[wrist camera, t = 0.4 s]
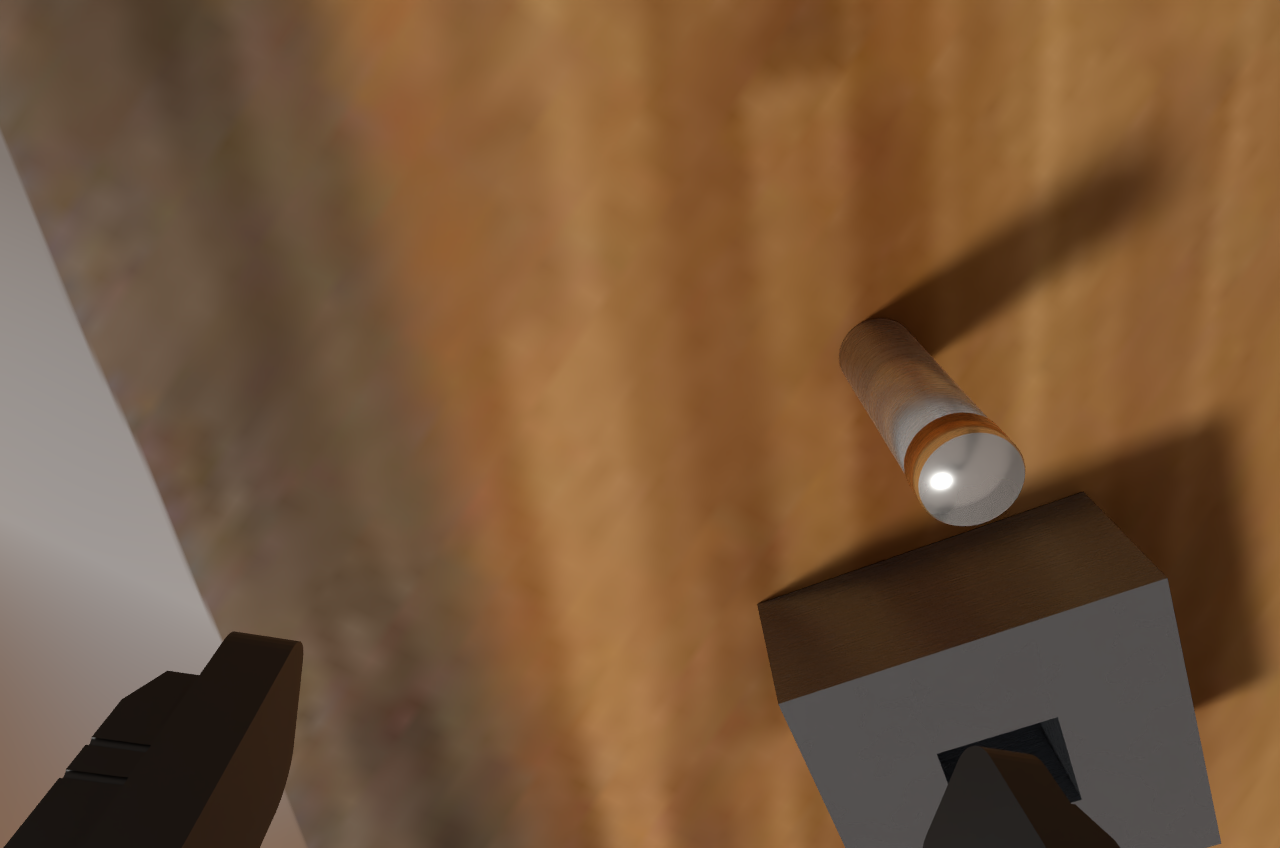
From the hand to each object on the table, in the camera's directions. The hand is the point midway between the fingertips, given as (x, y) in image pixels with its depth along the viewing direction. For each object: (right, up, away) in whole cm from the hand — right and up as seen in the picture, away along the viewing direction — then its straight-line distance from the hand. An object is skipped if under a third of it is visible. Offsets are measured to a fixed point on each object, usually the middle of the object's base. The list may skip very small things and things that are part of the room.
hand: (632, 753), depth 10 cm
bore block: (+14, -7, +28) cm, 32 cm away
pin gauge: (+9, +7, +22) cm, 25 cm away
